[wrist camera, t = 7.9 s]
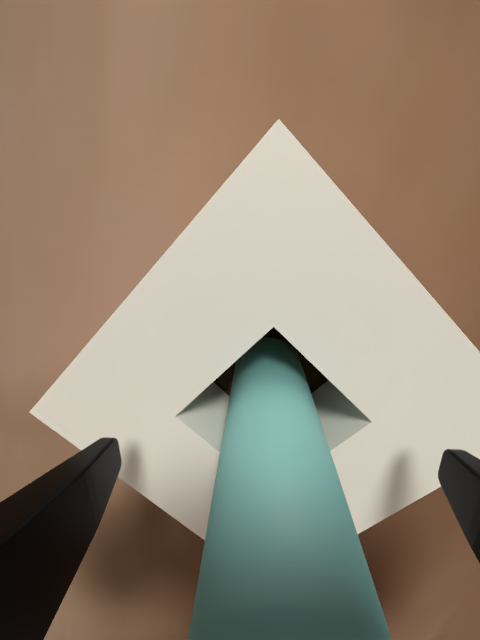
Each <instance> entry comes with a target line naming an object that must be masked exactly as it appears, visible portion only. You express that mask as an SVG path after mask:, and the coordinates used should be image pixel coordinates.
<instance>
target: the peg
mask: <svg viewBox="0 0 480 640" xmlns="http://www.w3.org/2000/svg"><path fill="white" fill-rule="evenodd" d="M188 640H392V638H391V635H390V632H389V629H388V626H387V623H386V619H385V616H384V613H383V610H382V607H381V604H380V601H379V598H378V595H377V592H376V589H375V586H374V583H373V580H372V577H371V574H370V571H369V568H368V565H367V562H366V559H365V556H364V553H363V550H362V546H361V543H360V540H359V537H358V534H357V531H356V528H355V525H354V522H353V519H352V516H351V513H350V510H349V507H348V504H347V501H346V498H345V495H344V492H343V489H342V486H341V483H340V480H339V476H338V473H337V470H336V467H335V464H334V461H333V458H332V455H331V452H330V449H329V446H328V443H327V440H326V437H325V434H324V431H323V428H322V425H321V422H320V419H319V416H318V413H317V410H316V406H315V403H314V400H313V397H312V394H311V391H310V388H309V385H308V382H307V379H306V376H305V373H304V370H303V367H302V364H301V361H300V358H299V356H298V354H297V352H296V351H295V350H294V348H293V347H292V346H290V345H289V344H288V343H286V342H284V341H282V340H279V339H275V338H261V339H260V340H259V341H257V342H256V343H255V344H254V345H253V346H252V347H251V348H250V349H249V350H248V351H246V352H245V353H244V354H243V355H242V356H241V357H240V358H239V359H238V360H237V361H236V362H235V368H234V374H233V380H232V385H231V391H230V397H229V403H228V409H227V415H226V420H225V426H224V432H223V438H222V444H221V450H220V455H219V461H218V467H217V473H216V479H215V485H214V490H213V496H212V502H211V508H210V514H209V519H208V525H207V531H206V537H205V543H204V549H203V554H202V560H201V566H200V572H199V578H198V584H197V589H196V595H195V601H194V607H193V613H192V619H191V624H190V630H189V636H188Z"/></svg>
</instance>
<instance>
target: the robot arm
mask: <svg viewBox="0 0 480 640" xmlns="http://www.w3.org/2000/svg"><path fill="white" fill-rule="evenodd" d="M121 464H122V459H121V454H120V448H119V443H118V440H117V439H116V438H111V437H103V438H100V439H98V440H97V441H95V442H94V443H92V444H91V445H89V446H88V447H86V448H84V449H83V450H81V451H80V452H78V453H77V454H75V455H74V456H72V457H70V458H69V459H67V460H66V461H64V462H63V463H61V464H59V465H58V466H56V467H55V468H53V469H52V470H50V471H49V472H47V473H45V474H44V475H42V476H41V477H39V478H38V479H36V480H35V481H33V482H31V483H30V484H28V485H27V486H25V487H24V488H22V489H20V490H19V491H17V492H16V493H14V494H13V495H11V496H10V497H8V498H6V499H5V500H3V501H2V502H0V640H43V639H44V637H45V635H46V633H47V631H48V629H49V627H50V625H51V623H52V621H53V619H54V617H55V615H56V613H57V611H58V609H59V607H60V604H61V602H62V600H63V598H64V596H65V594H66V592H67V590H68V588H69V586H70V584H71V582H72V580H73V578H74V576H75V574H76V572H77V570H78V568H79V566H80V564H81V561H82V559H83V557H84V555H85V553H86V551H87V549H88V547H89V545H90V543H91V541H92V539H93V537H94V535H95V533H96V530H97V528H98V526H99V523H100V521H101V519H102V516H103V513H104V511H105V508H106V506H107V503H108V500H109V498H110V495H111V493H112V490H113V487H114V485H115V482H116V479H117V477H118V474H119V472H120V469H121ZM438 479H439V482H440V485H441V487H442V489H443V491H444V493H445V495H446V497H447V499H448V501H449V503H450V505H451V508H452V510H453V512H454V514H455V516H456V518H457V520H458V522H459V524H460V526H461V528H462V530H463V532H464V535H465V537H466V539H467V541H468V542H469V544H470V546H471V548H472V550H473V552H474V554H475V555H476V557H477V559H478V561H479V563H480V459H478V458H477V457H475V456H473V455H472V454H470V453H468V452H466V451H464V450H461V449H446V450H445V451H444V452H443V455H442V458H441V462H440V466H439V470H438Z"/></svg>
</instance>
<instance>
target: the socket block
mask: <svg viewBox="0 0 480 640" xmlns="http://www.w3.org/2000/svg"><path fill="white" fill-rule="evenodd" d="M273 327H274V328H275V329H276V330H278V331H279V332H280V333H281V334H282V335H283V336H284V337H285V338H286V339H287V340H288V341H289V342H290V343H291V344H292V345H293V346H294V347H295V348H296V349H297V350H298V351H299V352H300V353H301V354H302V355H303V356H304V357H305V358H306V359H307V360H308V361H310V362H311V363H312V364H313V365H314V366H315V367H316V368H317V369H318V370H319V371H320V372H321V373H322V374H323V375H324V376H325V377H326V378H327V379H328V381H327V382H325V383H324V384H323V385H322V386H320V387H319V388H318V389H317V390H315V391H314V392H313V393H311V394H312V397H313V400H314V403H315V406H316V410H317V413H318V416H319V419H320V422H321V425H322V428H323V431H324V434H325V437H326V440H327V443H328V446H329V449H330V452H331V455H332V458H333V461H334V464H335V467H336V470H337V473H338V476H339V480H340V483H341V486H342V489H343V492H344V495H345V498H346V501H347V504H348V507H349V510H350V513H351V516H352V519H353V522H354V525H355V528H356V531H357V534H359V533H361V532H362V531H364V530H366V529H368V528H369V527H371V526H373V525H375V524H376V523H378V522H380V521H382V520H383V519H385V518H387V517H389V516H390V515H392V514H394V513H395V512H397V511H399V510H401V509H402V508H404V507H406V506H408V505H409V504H411V503H413V502H415V501H416V500H418V499H420V498H422V497H423V496H425V495H427V494H429V493H430V492H432V491H434V490H435V489H437V488H439V487H441V485H440V482H439V479H438V470H439V466H440V462H441V458H442V455H443V452H444V451H445V450H446V449H461V450H464V451H466V452H468V453H470V454H472V455H473V456H475V457H477V458H478V459H480V352H479V351H478V350H477V348H476V347H475V346H474V345H473V344H472V343H471V341H470V340H469V339H468V338H467V337H466V336H465V334H464V333H463V332H462V331H461V330H460V329H459V327H458V326H457V325H456V324H455V323H454V322H453V321H452V319H451V318H450V317H449V316H448V315H447V314H446V312H445V311H444V310H443V309H442V308H441V307H440V305H439V304H438V303H437V302H436V301H435V300H434V298H433V297H432V296H431V295H430V294H429V293H428V292H427V290H426V289H425V288H424V287H423V286H422V285H421V283H420V282H419V281H418V280H417V279H416V278H415V276H414V275H413V274H412V273H411V272H410V271H409V269H408V268H407V267H406V266H405V265H404V264H403V263H402V261H401V260H400V259H399V258H398V257H397V256H396V254H395V253H394V252H393V251H392V250H391V249H390V247H389V246H388V245H387V244H386V243H385V242H384V240H383V239H382V238H381V237H380V236H379V235H378V234H377V232H376V231H375V230H374V229H373V228H372V227H371V225H370V224H369V223H368V222H367V221H366V220H365V218H364V217H363V216H362V215H361V214H360V213H359V211H358V210H357V209H356V208H355V207H354V206H353V205H352V203H351V202H350V201H349V200H348V199H347V198H346V196H345V195H344V194H343V193H342V192H341V191H340V189H339V188H338V187H337V186H336V185H335V184H334V182H333V181H332V180H331V179H330V178H329V177H328V176H327V174H326V173H325V172H324V171H323V170H322V169H321V167H320V166H319V165H318V164H317V163H316V162H315V160H314V159H313V158H312V157H311V156H310V155H309V153H308V152H307V151H306V150H305V149H304V148H303V147H302V145H301V144H300V143H299V142H298V141H297V140H296V138H295V137H294V136H293V135H292V134H291V133H290V131H289V130H288V129H287V128H286V127H285V126H284V124H283V123H282V122H281V121H280V120H279V119H278V120H277V122H276V123H275V124H274V125H273V126H272V127H271V129H270V130H269V131H268V132H267V133H266V134H265V136H264V137H263V138H262V139H261V140H260V142H259V143H258V144H257V145H256V146H255V147H254V149H253V150H252V151H251V152H250V153H249V154H248V156H247V157H246V158H245V159H244V160H243V162H242V163H241V164H240V165H239V166H238V167H237V169H236V170H235V171H234V172H233V173H232V174H231V176H230V177H229V178H228V179H227V180H226V182H225V183H224V184H223V185H222V186H221V187H220V189H219V190H218V191H217V192H216V193H215V194H214V196H213V197H212V198H211V199H210V200H209V202H208V203H207V204H206V205H205V206H204V207H203V209H202V210H201V211H200V212H199V213H198V214H197V216H196V217H195V218H194V219H193V220H192V221H191V223H190V224H189V225H188V226H187V227H186V229H185V230H184V231H183V232H182V233H181V234H180V236H179V237H178V238H177V239H176V240H175V241H174V243H173V244H172V245H171V246H170V247H169V249H168V250H167V251H166V252H165V253H164V254H163V256H162V257H161V258H160V259H159V260H158V261H157V263H156V264H155V265H154V266H153V267H152V269H151V270H150V271H149V272H148V273H147V274H146V276H145V277H144V278H143V279H142V280H141V281H140V283H139V284H138V285H137V286H136V287H135V289H134V290H133V291H132V292H131V293H130V294H129V296H128V297H127V298H126V299H125V300H124V301H123V303H122V304H121V305H120V306H119V307H118V309H117V310H116V311H115V312H114V313H113V314H112V316H111V317H110V318H109V319H108V320H107V321H106V323H105V324H104V325H103V326H102V327H101V329H100V330H99V331H98V332H97V333H96V334H95V336H94V337H93V338H92V339H91V340H90V341H89V343H88V344H87V345H86V346H85V347H84V348H83V350H82V351H81V352H80V353H79V354H78V356H77V357H76V358H75V359H74V360H73V361H72V363H71V364H70V365H69V366H68V367H67V368H66V370H65V371H64V372H63V373H62V374H61V376H60V377H59V378H58V379H57V380H56V381H55V383H54V384H53V385H52V386H51V387H50V388H49V390H48V391H47V392H46V393H45V394H44V396H43V397H42V398H41V399H40V400H39V401H38V403H37V404H36V405H35V406H34V407H33V408H32V410H31V411H30V413H31V414H32V415H34V416H35V417H37V418H38V419H39V420H41V421H42V422H43V423H45V424H46V425H47V426H49V427H50V428H52V429H53V430H54V431H56V432H57V433H58V434H60V435H61V436H62V437H64V438H65V439H67V440H68V441H69V442H71V443H72V444H73V445H75V446H76V447H78V448H79V449H80V450H83V449H84V448H86V447H88V446H89V445H91V444H92V443H94V442H95V441H97V440H98V439H100V438H103V437H111V438H116V439H117V440H118V443H119V448H120V454H121V459H122V464H121V469H120V472H119V474H118V477H119V478H120V479H121V480H123V481H124V482H125V483H127V484H128V485H129V486H131V487H132V488H134V489H135V490H136V491H138V492H139V493H140V494H142V495H143V496H145V497H146V498H147V499H149V500H150V501H151V502H153V503H154V504H155V505H157V506H158V507H160V508H161V509H162V510H164V511H165V512H166V513H168V514H169V515H171V516H172V517H173V518H175V519H176V520H177V521H179V522H180V523H181V524H183V525H184V526H186V527H187V528H188V529H190V530H191V531H192V532H194V533H195V534H196V535H198V536H199V537H201V538H202V539H203V540H205V537H206V531H207V525H208V519H209V514H210V508H211V502H212V496H213V490H214V485H215V479H216V473H217V467H218V461H219V455H220V450H221V444H222V438H223V432H224V426H225V420H226V415H227V409H228V403H229V397H230V396H229V395H228V394H226V393H225V392H224V391H223V390H222V389H221V388H220V387H218V386H217V385H216V384H215V383H214V381H215V380H216V379H217V378H218V377H219V376H220V375H221V374H222V373H223V372H225V371H226V370H227V369H228V368H229V367H230V366H231V365H232V364H233V363H234V362H235V361H237V360H238V359H239V358H240V357H241V356H242V355H243V354H244V353H245V352H246V351H248V350H249V349H250V348H251V347H252V346H253V345H254V344H255V343H256V342H257V341H259V340H260V339H261V338H262V337H263V336H264V335H265V334H266V333H267V332H268V331H270V330H271V329H272V328H273Z"/></svg>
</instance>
